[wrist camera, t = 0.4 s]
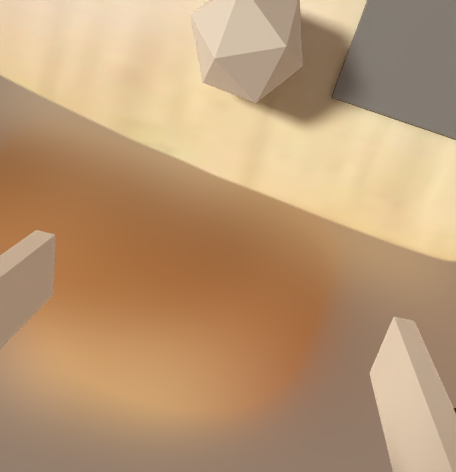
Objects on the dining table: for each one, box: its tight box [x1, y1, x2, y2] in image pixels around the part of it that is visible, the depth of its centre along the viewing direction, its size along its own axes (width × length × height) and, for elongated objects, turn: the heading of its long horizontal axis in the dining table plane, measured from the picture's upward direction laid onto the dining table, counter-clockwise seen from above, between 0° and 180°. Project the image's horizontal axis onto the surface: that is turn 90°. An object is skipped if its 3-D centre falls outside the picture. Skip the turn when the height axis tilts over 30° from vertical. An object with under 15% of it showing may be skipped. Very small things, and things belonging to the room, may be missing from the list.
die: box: [190, 0, 303, 103], centre depth 34 cm, size 8×9×10 cm
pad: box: [332, 0, 456, 140], centre depth 36 cm, size 13×13×1 cm
